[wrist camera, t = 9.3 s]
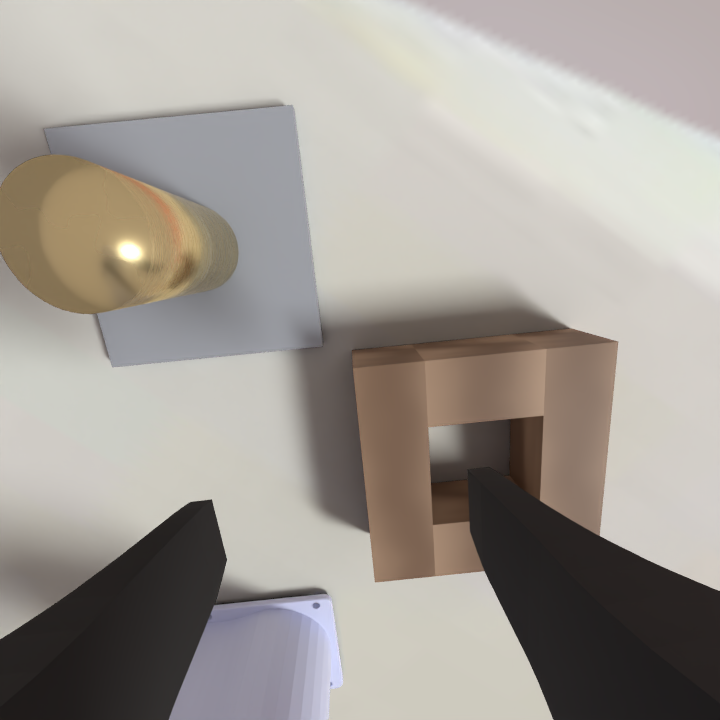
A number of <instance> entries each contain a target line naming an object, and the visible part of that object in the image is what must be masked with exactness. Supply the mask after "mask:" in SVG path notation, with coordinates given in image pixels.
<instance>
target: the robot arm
mask: <svg viewBox="0 0 720 720" xmlns="http://www.w3.org/2000/svg"><path fill="white" fill-rule="evenodd" d="M467 471H468V497H469V523H470V533H471V536H472V539H473V542H474V545H475V547H476V550H477V553H478V556H479V558H480V561H481V564H482V566H483V569H484V571H485V573H486V575H487V577H488V579H489V581H490V583H491V585H492V587H493V589H494V591H495V593H496V595H497V598H498V600H499V602H500V604H501V606H502V608H503V610H504V612H505V614H506V616H507V618H508V620H509V622H510V624H511V626H512V628H513V630H514V632H515V634H516V636H517V638H518V640H519V642H520V644H521V646H522V648H523V650H524V652H525V654H526V656H527V658H528V660H529V662H530V664H531V667H532V669H533V671H534V673H535V675H536V678H537V680H538V682H539V685H540V687H541V690H542V692H543V695H544V697H545V700H546V702H547V705H548V707H549V710H550V712H551V714H552V717H553V719H554V720H720V591H718V590H715V589H713V588H710V587H708V586H706V585H703V584H701V583H698V582H696V581H694V580H691V579H689V578H687V577H684V576H682V575H680V574H677V573H675V572H673V571H670V570H668V569H666V568H664V567H661V566H659V565H657V564H655V563H653V562H650V561H648V560H646V559H644V558H642V557H640V556H638V555H636V554H634V553H632V552H630V551H628V550H626V549H624V548H622V547H620V546H618V545H616V544H614V543H612V542H610V541H608V540H606V539H604V538H602V537H600V536H599V535H597V534H595V533H593V532H591V531H590V530H588V529H586V528H584V527H583V526H581V525H579V524H577V523H576V522H574V521H572V520H570V519H569V518H567V517H565V516H564V515H562V514H561V513H559V512H557V511H556V510H554V509H552V508H551V507H549V506H548V505H546V504H544V503H543V502H541V501H540V500H538V499H537V498H535V497H534V496H532V495H531V494H529V493H528V492H526V491H525V490H523V489H522V488H520V487H519V486H517V485H516V484H514V483H513V482H511V481H510V480H508V479H507V478H505V477H504V476H502V475H501V474H499V473H498V472H496V471H495V470H493V469H491V468H490V467H486V468H477V469H469V470H467ZM226 562H227V558H226V554H225V550H224V546H223V542H222V538H221V534H220V530H219V526H218V522H217V518H216V514H215V510H214V506H213V502H212V500H204V501H196V502H190V503H188V504H187V505H185V506H184V507H182V508H181V509H180V510H178V511H177V512H176V513H174V514H173V515H172V516H170V517H169V518H168V519H167V520H165V521H164V522H163V523H161V524H160V525H159V526H158V527H156V528H155V529H154V530H153V531H151V532H150V533H149V534H148V535H146V536H145V537H144V538H143V539H141V540H140V541H139V542H137V543H136V544H135V545H134V546H132V547H131V548H130V549H129V550H127V551H126V552H125V553H123V554H122V555H121V556H120V557H118V558H117V559H116V560H114V561H113V562H112V563H110V564H109V565H108V566H106V567H105V568H104V569H102V570H101V571H100V572H98V573H97V574H96V575H94V576H93V577H92V578H90V579H89V580H87V581H86V582H85V583H83V584H82V585H81V586H79V587H78V588H77V589H75V590H74V591H73V592H71V593H70V594H68V595H67V596H66V597H64V598H63V599H61V600H60V601H58V602H57V603H55V604H54V605H52V606H51V607H50V608H48V609H47V610H45V611H44V612H42V613H41V614H39V615H38V616H36V617H34V618H33V619H31V620H30V621H28V622H27V623H25V624H24V625H22V626H21V627H19V628H18V629H16V630H15V631H13V632H11V633H10V634H8V635H7V636H5V637H4V638H2V639H0V720H329V703H330V689H333V688H339V687H341V686H342V684H343V674H342V667H341V660H340V653H339V646H338V639H337V633H336V626H335V619H334V612H333V605H332V599H331V597H330V596H329V595H327V594H317V595H308V596H298V597H288V598H279V599H269V600H259V601H250V602H240V603H230V604H221V605H214V604H215V601H216V599H217V595H218V592H219V588H220V585H221V581H222V577H223V573H224V569H225V565H226ZM315 602H316V603H315Z"/></svg>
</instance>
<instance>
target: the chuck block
mask: <svg viewBox="0 0 720 720" xmlns="http://www.w3.org/2000/svg"><path fill="white" fill-rule="evenodd" d="M617 349H618V342H617V341H614V340H610V339H607V338H603V337H599V336H596V335H592V334H589V333H585V332H582V331H578V330H575V329H561V330H551V331H541V332H531V333H520V334H510V335H500V336H490V337H480V338H470V339H460V340H450V341H440V342H430V343H420V344H410V345H400V346H390V347H379V348H369V349H359V350H352V362H353V376H354V385H355V395H356V404H357V414H358V424H359V433H360V443H361V452H362V462H363V472H364V481H365V491H366V501H367V510H368V520H369V529H370V539H371V549H372V558H373V568H374V577H375V582H384V581H393V580H403V579H413V578H422V577H432V576H442V575H451V574H461V573H471V572H480V571H484V569H483V566H482V564H481V561H480V558H479V556H478V553H477V550H476V547H475V545H474V542H473V539H472V536H471V533H470V523H469V497H468V480H459V481H449V482H439V483H431V477H430V456H429V435H428V427H435V426H445V425H455V424H465V423H475V422H485V421H495V420H505V419H511V420H510V475H508V476H504V477H505V478H507V479H508V480H510V481H511V482H513V483H514V484H516V485H517V486H519V487H520V488H522V489H523V490H525V491H526V492H528V493H529V494H531V495H532V496H534V497H535V498H537V499H538V500H540V501H541V502H543V503H544V504H546V505H548V506H549V507H551V508H552V509H554V510H556V511H557V512H559V513H561V514H562V515H564V516H565V517H567V518H569V519H570V520H572V521H574V522H576V523H577V524H579V525H581V526H583V527H584V528H586V529H588V530H590V531H591V532H593V533H595V534H597V535H600V525H601V515H602V504H603V494H604V484H605V473H606V463H607V453H608V442H609V432H610V422H611V411H612V401H613V391H614V380H615V370H616V360H617Z"/></svg>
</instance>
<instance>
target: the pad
mask: <svg viewBox="0 0 720 720" xmlns="http://www.w3.org/2000/svg"><path fill="white" fill-rule="evenodd" d="M44 131H45V135H46V138H47V142H48V145H49V149H50V152H51V155H53V154H55V155H68V156H74V157H78V158H81V159H84V160H87V161H90V162H92V163H95V164H97V165H100V166H102V167H105V168H107V169H110V170H113V171H115V172H118V173H120V174H123V175H125V176H128V177H130V178H133V179H136V180H138V181H141V182H143V183H146V184H148V185H151V186H153V187H156V188H159V189H161V190H164V191H166V192H169V193H171V194H174V195H176V196H179V197H182V198H184V199H187V200H189V201H192V202H194V203H197V204H199V205H202V206H204V207H207V208H209V209H211V210H213V211H215V212H216V213H218V214H219V215H220V216H222V217H223V218H224V219H225V220H226V221H227V223H228V224H229V225H230V227H231V228H232V230H233V232H234V234H235V236H236V240H237V243H238V250H239V256H238V263H237V266H236V269H235V271H234V273H233V275H232V276H231V278H230V279H229V280H228V281H227V282H226V283H224V284H223V285H222V286H220V287H218V288H216V289H213V290H209V291H205V292H200V293H195V294H190V295H185V296H181V297H176V298H171V299H166V300H161V301H156V302H151V303H147V304H142V305H137V306H132V307H127V308H122V309H118V310H113V311H108V312H103V313H97V316H98V319H99V323H100V326H101V330H102V333H103V337H104V340H105V344H106V347H107V351H108V354H109V358H110V361H111V365H112V367H120V366H131V365H141V364H151V363H161V362H171V361H181V360H191V359H201V358H211V357H221V356H231V355H241V354H252V353H262V352H272V351H282V350H292V349H302V348H312V347H322V346H323V337H322V329H321V321H320V313H319V305H318V297H317V289H316V281H315V273H314V265H313V256H312V248H311V240H310V232H309V224H308V216H307V208H306V200H305V192H304V184H303V176H302V168H301V160H300V152H299V144H298V136H297V128H296V120H295V111H294V108H293V105H288V106H277V107H267V108H256V109H246V110H235V111H225V112H214V113H204V114H193V115H182V116H172V117H161V118H151V119H140V120H130V121H119V122H109V123H98V124H88V125H77V126H67V127H56V128H46V129H44Z"/></svg>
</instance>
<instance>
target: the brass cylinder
mask: <svg viewBox="0 0 720 720" xmlns="http://www.w3.org/2000/svg"><path fill="white" fill-rule="evenodd" d="M0 252H1V254H2V256H3V258H4V260H5V262H6V264H7V265H8V267H9V268H10V270H11V271H12V273H13V274H14V275H15V276H16V278H17V279H18V280H19V281H20V282H21V283H22V284H23V285H24V286H25V287H26V288H27V289H28V290H29V291H30V292H32V293H33V294H34V295H36V296H37V297H39V298H40V299H42V300H43V301H45V302H47V303H49V304H51V305H52V306H55V307H57V308H60V309H62V310H66V311H70V312H74V313H81V314H95V313H103V312H108V311H113V310H118V309H122V308H127V307H132V306H137V305H142V304H147V303H151V302H156V301H161V300H166V299H171V298H176V297H181V296H185V295H190V294H195V293H200V292H205V291H209V290H213V289H216V288H218V287H220V286H222V285H223V284H224V283H226V282H227V281H228V280H229V279H230V278H231V276H232V275H233V273H234V271H235V269H236V266H237V263H238V256H239V250H238V243H237V240H236V236H235V234H234V232H233V230H232V228H231V227H230V225H229V224H228V223H227V221H226V220H225V219H224V218H223V217H222V216H220V215H219V214H218V213H216V212H215V211H213V210H211V209H209V208H207V207H204V206H202V205H199V204H197V203H194V202H192V201H189V200H187V199H184V198H182V197H179V196H176V195H174V194H171V193H169V192H166V191H164V190H161V189H159V188H156V187H153V186H151V185H148V184H146V183H143V182H141V181H138V180H136V179H133V178H130V177H128V176H125V175H123V174H120V173H118V172H115V171H113V170H110V169H107V168H105V167H102V166H100V165H97V164H95V163H92V162H90V161H87V160H84V159H81V158H78V157H74V156H68V155H55V154H53V155H44V156H40V157H36V158H33V159H30V160H28V161H26V162H24V163H22V164H21V165H19V166H18V167H16V168H15V169H14V170H13V171H12V172H11V173H10V174H9V175H8V176H7V178H6V179H5V180H4V182H3V183H2V185H1V187H0Z"/></svg>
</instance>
